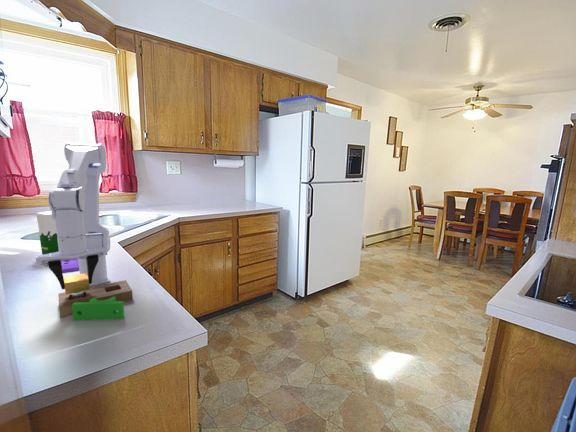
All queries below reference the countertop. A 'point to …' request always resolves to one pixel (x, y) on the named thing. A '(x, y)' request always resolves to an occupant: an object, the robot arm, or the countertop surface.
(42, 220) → the milk carton
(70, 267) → the bracket
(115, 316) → the pipe clamp
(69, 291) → the orange block
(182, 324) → the countertop surface
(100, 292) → the board
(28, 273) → the countertop surface
